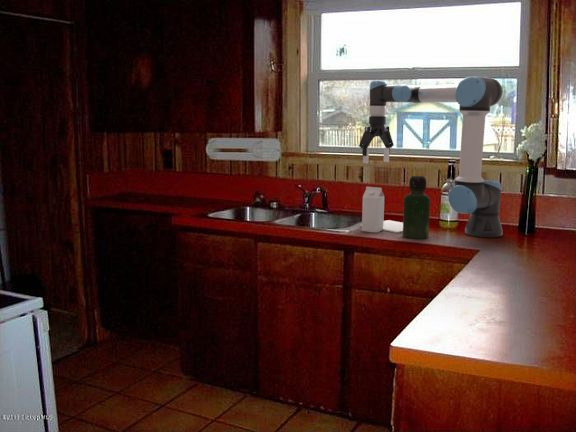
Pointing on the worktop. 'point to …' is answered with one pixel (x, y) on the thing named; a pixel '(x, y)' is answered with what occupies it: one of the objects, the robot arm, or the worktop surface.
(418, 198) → the green bottle
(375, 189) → the milk carton
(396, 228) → the mat
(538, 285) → the worktop surface
